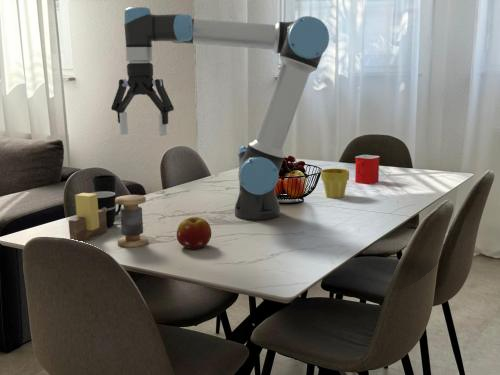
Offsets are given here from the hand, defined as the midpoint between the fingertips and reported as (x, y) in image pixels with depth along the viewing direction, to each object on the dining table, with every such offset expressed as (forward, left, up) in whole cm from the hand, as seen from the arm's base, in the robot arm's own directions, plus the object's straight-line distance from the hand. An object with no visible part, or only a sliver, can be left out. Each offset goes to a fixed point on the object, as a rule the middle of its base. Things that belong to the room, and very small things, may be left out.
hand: (143, 134), depth 181 cm
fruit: (-23, +13, -29) cm, 39 cm away
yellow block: (+10, +16, -26) cm, 32 cm away
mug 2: (-48, -90, -29) cm, 106 cm away
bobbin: (-5, +16, -29) cm, 33 cm away
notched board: (+10, +16, -29) cm, 34 cm away
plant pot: (-43, -61, -29) cm, 80 cm away
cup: (+25, -13, -29) cm, 40 cm away
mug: (+14, +2, -29) cm, 32 cm away
